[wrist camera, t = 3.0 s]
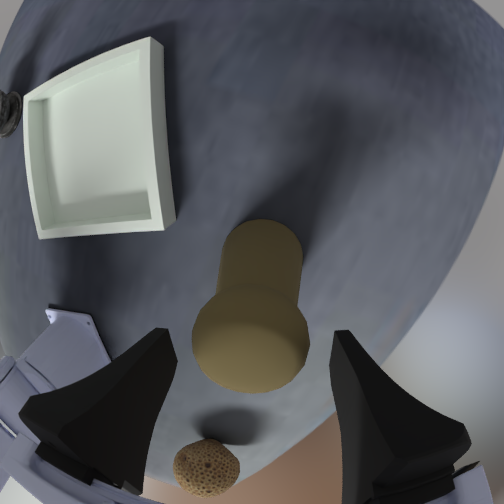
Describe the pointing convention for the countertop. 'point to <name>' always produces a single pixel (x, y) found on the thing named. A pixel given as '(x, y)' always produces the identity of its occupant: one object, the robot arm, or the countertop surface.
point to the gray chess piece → (9, 112)
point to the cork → (254, 312)
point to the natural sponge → (206, 468)
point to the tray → (101, 146)
